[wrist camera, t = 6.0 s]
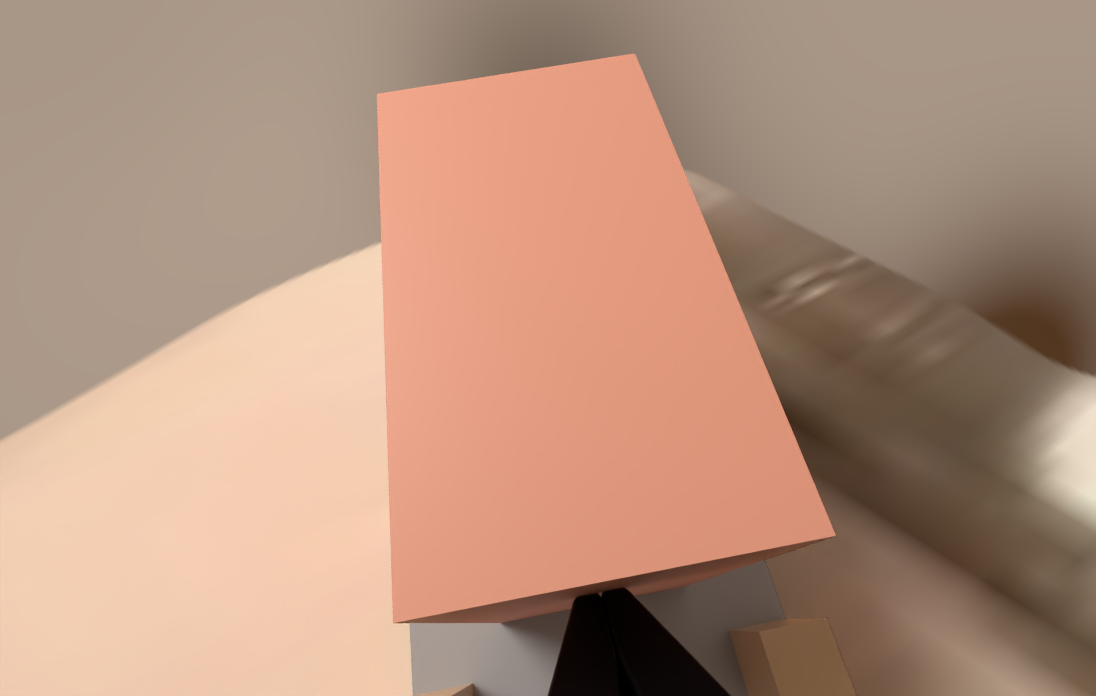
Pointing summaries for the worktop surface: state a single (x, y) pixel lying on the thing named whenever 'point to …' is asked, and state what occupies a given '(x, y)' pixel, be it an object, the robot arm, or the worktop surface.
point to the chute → (687, 613)
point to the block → (565, 356)
